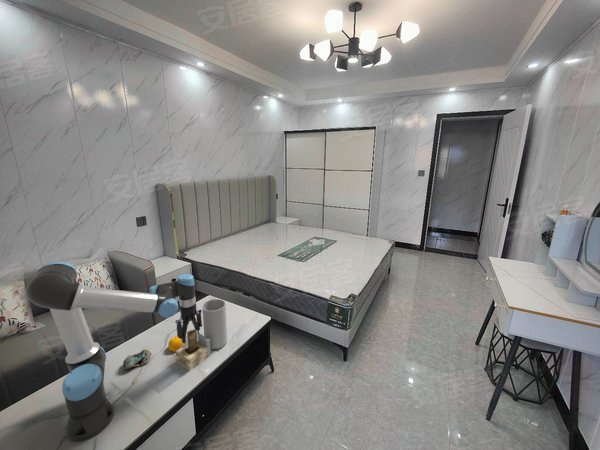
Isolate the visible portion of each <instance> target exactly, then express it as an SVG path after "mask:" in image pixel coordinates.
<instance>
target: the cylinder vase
mask: <svg viewBox="0 0 600 450" xmlns="http://www.w3.org/2000/svg"><path fill="white" fill-rule="evenodd" d="M201 308H202V310H201V312H202V326H203V336H205V337H207V338H208V339H210V348H211V350H213V351H214V350H218V349H221V348H223V347H224V346H225V345H226V344H227V342H228V331H227V330H228V326H227V311H226V310H227V308H226V301H225V300H224V299H220V298H218V299H217V298H215V299H209V300H207V301H205V302H204V303H202V306H201Z"/></svg>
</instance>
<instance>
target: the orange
mask: <svg viewBox="0 0 600 450" xmlns="http://www.w3.org/2000/svg"><path fill="white" fill-rule="evenodd" d="M167 345H168V349H169V351H171V352H174V353H176V350H178V349H179V348H181V347H183V346H184V344H183V343H182V339H180V338H178V337H177V335H176V336H173V337H171V339H169V342H168V344H167Z"/></svg>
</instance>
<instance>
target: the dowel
mask: <svg viewBox="0 0 600 450" xmlns="http://www.w3.org/2000/svg"><path fill="white" fill-rule="evenodd" d="M186 336H187V339H188V354H190V355H191V354H192V353H194V352H195V351H196V332H195V331H194V330H193V329H190V330H187V333H186Z"/></svg>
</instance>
